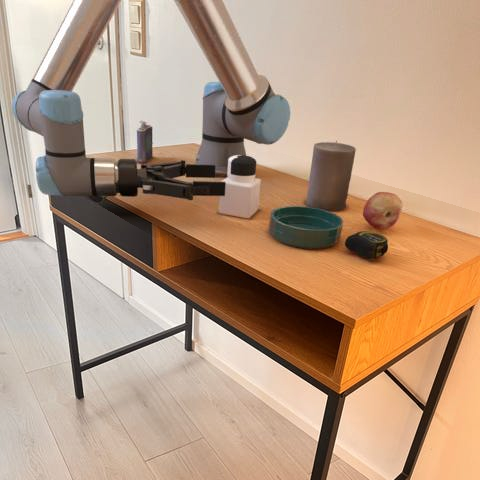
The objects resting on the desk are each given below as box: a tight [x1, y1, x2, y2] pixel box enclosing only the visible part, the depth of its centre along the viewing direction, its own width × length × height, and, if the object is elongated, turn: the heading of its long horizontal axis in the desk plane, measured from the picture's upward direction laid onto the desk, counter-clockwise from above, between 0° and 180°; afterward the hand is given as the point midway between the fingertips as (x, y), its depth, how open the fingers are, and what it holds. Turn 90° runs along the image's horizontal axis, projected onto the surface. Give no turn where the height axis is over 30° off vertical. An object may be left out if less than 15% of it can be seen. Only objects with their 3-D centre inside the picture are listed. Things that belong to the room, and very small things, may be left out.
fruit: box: [362, 191, 404, 231], centre depth 105 cm, size 8×8×8 cm
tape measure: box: [344, 230, 389, 261], centre depth 92 cm, size 7×7×4 cm
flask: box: [136, 120, 154, 164], centre depth 141 cm, size 9×3×11 cm, turn 172°
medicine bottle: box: [218, 155, 262, 219], centre depth 107 cm, size 7×7×12 cm
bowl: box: [268, 205, 344, 250], centre depth 99 cm, size 14×14×4 cm
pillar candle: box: [305, 140, 357, 212], centre depth 115 cm, size 10×10×15 cm
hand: (219, 179), depth 105 cm, fingers open, 13 cm apart
